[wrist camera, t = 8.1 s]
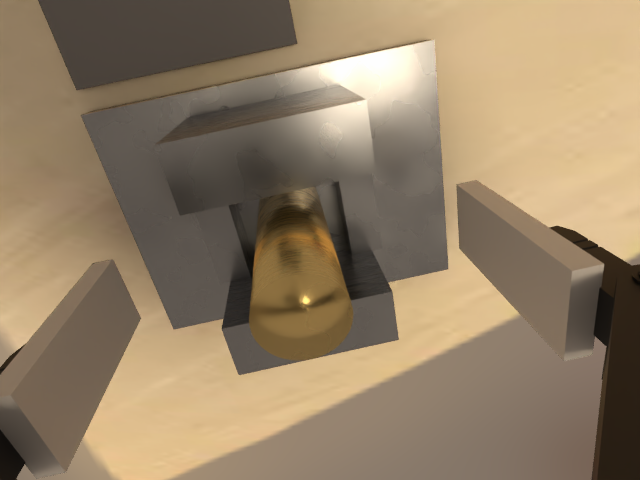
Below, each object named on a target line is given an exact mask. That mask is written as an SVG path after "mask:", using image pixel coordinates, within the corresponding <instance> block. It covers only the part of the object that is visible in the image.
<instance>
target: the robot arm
mask: <svg viewBox="0 0 640 480" xmlns="http://www.w3.org/2000/svg"><path fill="white" fill-rule="evenodd" d="M457 206H458V228H459V248H460V250H461V251H462V252H463V253H464V254H465V255H466V256H467V257H468V258H469V259H470V260H471V261H472V263H473V264H474V265H475V266H476V267H477V268H478V269H479V270H480V271H481V272H482V273H483V274H484V276H485V277H486V278H487V279H488V280H489V281H490V282H491V283H492V284H493V285H494V286H495V287H496V288H497V290H498V291H499V292H500V293H501V294H502V295H503V296H504V297H505V298H506V299H507V300H508V301H509V303H510V304H511V305H512V306H513V307H514V308H515V309H516V310H517V311H518V312H519V313H520V314H521V316H522V317H523V318H524V319H525V320H526V321H527V322H528V323H529V324H530V325H531V326H532V327H533V328H534V329H535V331H536V332H538V334H539V335H540V336H541V337H542V338H543V339H544V340H545V341H546V342H547V344H548V345H549V346H550V347H551V348H552V349H553V350H554V351H555V352H556V353H557V354H558V356H559V357H560V358H561V359H562V360H563V361H566V360H571V359H575V358H580V357H585V356H589V355H592V354H593V346H594V339H595V336H596V337H597V338H598V339H599V340H600V341H601V342H602V343H603V344H604V345H606V346H607V348H606V354H605V361H604V367H603V374H602V380H603V381H602V389H601V398H600V408H599V417H598V425H597V435H596V444H595V453H594V462H593V471H592V480H640V265H633V266H631V265H630V264H628V263H627V262H625V261H623V260H622V259H620V258H618V257H617V256H615V255H613V254H612V253H610V252H609V251H607V250H605V249H604V248H602V247H598V245H597V244H595V243H594V242H592V241H590V240H589V241H588V239H587V238H586V237H584V236H582V235H581V234H579V233H577V232H576V231H573V230H570V229H567V228H563V227H560V226H554V227H550V228H549V227H547V226H546V225H544V224H543V223H541V222H540V221H538V220H537V219H535V218H533V217H532V216H530V215H529V214H527V213H526V212H524V211H523V210H521V209H520V208H518V207H517V206H515V205H514V204H512V203H511V202H509V201H508V200H506V199H504V198H503V197H501V196H500V195H498V194H497V193H495V192H494V191H492V190H491V189H489V188H488V187H486V186H485V185H483V184H482V183H480V182H479V181H477V180H474V181H470V182H465V183H461V184H457ZM140 319H141V318H140V315H139V313H138V311H137V309H136V307H135V305H134V303H133V301H132V298H131V296H130V294H129V292H128V290H127V288H126V286H125V284H124V281H123V279H122V277H121V275H120V273H119V271H118V269H117V267H116V264H115V262H114V260H113V259H111V260H107V261H102V262H97V263H93V264H92V265H91V266H90V267H89V269H88V270H87V271H86V272H85V273H84V275H83V276H82V277H81V278H80V279H79V281H78V282H77V283H76V284H75V285H74V287H73V288H72V289H71V290H70V291H69V293H68V294H67V295H66V296H65V297H64V299H63V300H62V301H61V302H60V303H59V305H58V306H57V307H56V308H55V309H54V311H53V312H52V313H51V314H50V316H49V317H48V318H47V319H46V320H45V322H44V323H43V324H42V325H41V326H40V328H39V329H38V330H37V331H36V332H35V334H34V335H33V336H32V337H31V338H30V340H29V341H28V342H27V343H26V344H25V345H23V346H22V347H21V348H20V349H18V350H17V351H16V352H15V353H13V354H12V355H11V356H10V357H9V358H8V359H7V360H6V361H5V362H4V364H3V365H2V366H1V367H0V480H17V479H16V478H17V476H18V474H19V473H20V471H21V469H22V467H23V466H24V464H25V465H26V466H27V467H28V469H29V470H30V471H31V473H32V474H33V475H34V476H35V478H36V479H38V478H43V477H48V476H52V475H56V474H61V473H65V472H66V471H67V469H68V467H69V465H70V463H71V461H72V459H73V457H74V455H75V453H76V451H77V448H78V447H79V445H80V442H81V440H82V438H83V436H84V434H85V432H86V430H87V428H88V426H89V424H90V422H91V420H92V418H93V416H94V414H95V412H96V410H97V408H98V405H99V403H100V401H101V399H102V397H103V395H104V393H105V391H106V389H107V387H108V385H109V383H110V381H111V379H112V377H113V375H114V373H115V370H116V368H117V366H118V364H119V362H120V360H121V358H122V356H123V354H124V352H125V350H126V348H127V346H128V344H129V342H130V340H131V338H132V336H133V333H134V331H135V329H136V327H137V325H138V323H139V321H140Z"/></svg>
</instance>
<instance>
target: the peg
mask: <svg viewBox="0 0 640 480" xmlns="http://www.w3.org/2000/svg"><path fill="white" fill-rule="evenodd" d="M352 322H353V308H352V304H351V300H350V297H349V294H348V291H347V287H346V284H345V281H344V277H343V274H342V271H341V268H340V264H339V261H338V258H337V255H336V251H335V248H334V245H333V241H332V238H331V235H330V232H329V228H328V225H327V222H326V219H325V215H324V212H323V209H322V205H321V202H320V199H319V196H318V192H317V190H316V188H315V187H311V188H306V189H301V190H297V191H292V192H288V193H283V194H278V195H274V196H269V197H264V198H260V199H259V211H258V222H257V233H256V245H255V256H254V267H253V279H252V290H251V301H250V313H249V326H250V330H251V333H252V335H253V337H254V339H255V340H256V342H257V343H258V344H259V345H260V346H261V347H262V348H263V349H264V350H266V351H267V352H269V353H270V354H272V355H274V356H277V357H279V358H283V359H288V360H298V361H299V360H309V359H314V358H318V357H320V356H323V355H325V354H327V353H329V352H331V351H332V350H334V349H335V348H336V347H337V346H339V345H340V344H341V343H342V342H343V341H344V339H345V338H346V337H347V335H348V333H349V331H350V329H351V326H352Z"/></svg>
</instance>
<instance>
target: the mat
mask: <svg viewBox="0 0 640 480" xmlns="http://www.w3.org/2000/svg"><path fill="white" fill-rule="evenodd" d="M38 1H39V4H40V6H41V8H42V11H43V13H44V15H45V18H46V20H47V22H48V25H49V27H50V29H51V32H52V34H53V36H54V39H55V41H56V43H57V46H58V48H59V50H60V53H61V55H62V57H63V60H64V62H65V64H66V67H67V69H68V71H69V74H70V76H71V78H72V81H73V83H74V85H75V88H76V90H80V89H85V88H90V87H95V86H99V85H104V84H109V83H113V82H118V81H123V80H127V79H132V78H137V77H142V76H146V75H151V74H156V73H160V72H165V71H170V70H175V69H179V68H184V67H189V66H193V65H198V64H203V63H208V62H212V61H217V60H222V59H226V58H231V57H236V56H240V55H245V54H250V53H255V52H259V51H264V50H269V49H273V48H278V47H283V46H288V45H292V44H297V40H296V35H295V30H294V24H293V19H292V14H291V9H290V4H289V0H38Z"/></svg>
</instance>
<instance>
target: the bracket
mask: <svg viewBox="0 0 640 480" xmlns="http://www.w3.org/2000/svg"><path fill="white" fill-rule="evenodd" d="M81 117H82V119H83V121H84V124H85V126H86V128H87V131H88V133H89V135H90V138H91V140H92V142H93V144H94V147H95V149H96V151H97V154H98V156H99V158H100V161H101V163H102V165H103V167H104V170H105V172H106V174H107V177H108V179H109V181H110V184H111V186H112V188H113V190H114V193H115V195H116V197H117V200H118V202H119V204H120V207H121V209H122V211H123V214H124V216H125V218H126V220H127V223H128V225H129V227H130V230H131V232H132V234H133V237H134V239H135V241H136V243H137V246H138V248H139V250H140V253H141V255H142V257H143V260H144V262H145V264H146V267H147V269H148V271H149V273H150V276H151V278H152V280H153V283H154V285H155V287H156V290H157V292H158V294H159V296H160V299H161V301H162V303H163V306H164V308H165V310H166V313H167V315H168V317H169V320H170V322H171V324H172V326H173V329H178V328H183V327H187V326H192V325H196V324H201V323H205V322H210V321H214V320H219V319H223V325H222V331H223V334H224V336H225V339H226V342H227V345H228V347H229V350H230V353H231V355H232V358H233V361H234V364H235V366H236V369H237V372H238V374H239V375H242V374H246V373H251V372H255V371H260V370H264V369H269V368H273V367H278V366H282V365H287V364H291V363H296V362H300V361H305V360H299V361H298V360H288V359H283V358H279V357H277V356H274V355H272V354H270V353H269V352H267V351H266V350H264V349H263V348H262V347H261V346H260V345H259V344H258V343H257V342H256V340H255V339H254V337H253V335H252V333H251V330H250V326H249V313H250V301H251V290H252V279H253V267H254V256H255V245H256V233H257V222H258V211H259V199H260V198H264V197H269V196H274V195H278V194H283V193H288V192H292V191H297V190H301V189H306V188H311V187H315V188H316V190H317V192H318V196H319V199H320V202H321V205H322V209H323V212H324V215H325V219H326V222H327V225H328V228H329V232H330V235H331V238H332V241H333V245H334V248H335V251H336V255H337V258H338V261H339V264H340V268H341V271H342V274H343V277H344V281H345V284H346V287H347V291H348V294H349V297H350V300H351V304H352V308H353V322H352V326H351V329H350V331H349V333H348V335H347V337H346V338H345V339H344V341H343V342H342V343H341V344H340V345H339V346H337V347H336V348H335V349H334V350H332V351H331V352H329V353H327V354H325V355H323V356H327V355H332V354H336V353H341V352H345V351H350V350H354V349H359V348H363V347H368V346H372V345H377V344H382V343H386V342H391V341H395V340H399V338H398V331H397V323H396V316H395V309H394V301H393V294H392V290H391V288H390V286H389V284H388V282H392V281H396V280H401V279H405V278H410V277H415V276H419V275H424V274H428V273H433V272H437V271H442V270H446V269H448V255H447V238H446V222H445V206H444V189H443V173H442V156H441V140H440V123H439V107H438V90H437V74H436V57H435V41H434V40H425V41H420V42H416V43H411V44H406V45H402V46H397V47H392V48H388V49H383V50H378V51H374V52H369V53H364V54H359V55H355V56H350V57H345V58H341V59H336V60H331V61H327V62H322V63H317V64H313V65H308V66H303V67H298V68H294V69H289V70H284V71H280V72H275V73H270V74H266V75H261V76H256V77H252V78H247V79H242V80H237V81H233V82H228V83H223V84H219V85H214V86H209V87H205V88H200V89H195V90H191V91H186V92H181V93H176V94H172V95H167V96H162V97H158V98H153V99H148V100H144V101H139V102H134V103H130V104H125V105H120V106H115V107H111V108H106V109H101V110H97V111H92V112H88V113H86V114H83V115H81ZM323 356H320V357H323Z"/></svg>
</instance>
